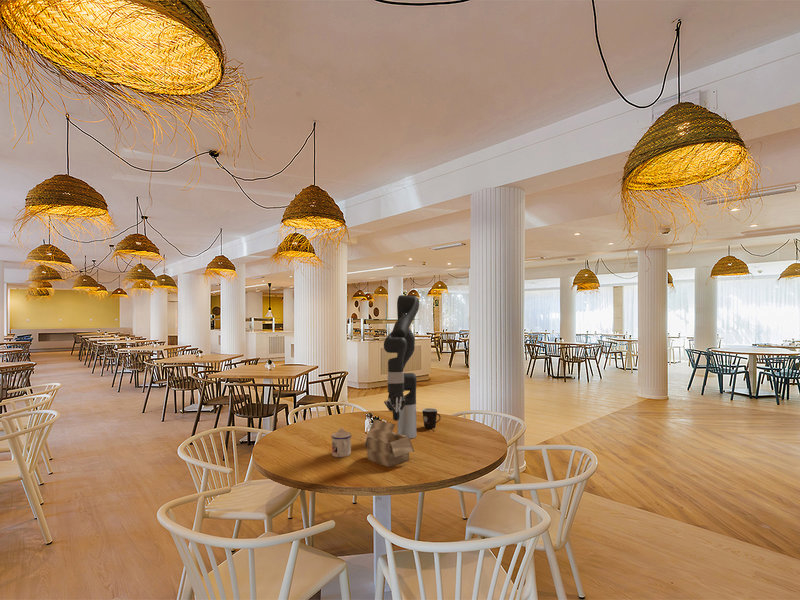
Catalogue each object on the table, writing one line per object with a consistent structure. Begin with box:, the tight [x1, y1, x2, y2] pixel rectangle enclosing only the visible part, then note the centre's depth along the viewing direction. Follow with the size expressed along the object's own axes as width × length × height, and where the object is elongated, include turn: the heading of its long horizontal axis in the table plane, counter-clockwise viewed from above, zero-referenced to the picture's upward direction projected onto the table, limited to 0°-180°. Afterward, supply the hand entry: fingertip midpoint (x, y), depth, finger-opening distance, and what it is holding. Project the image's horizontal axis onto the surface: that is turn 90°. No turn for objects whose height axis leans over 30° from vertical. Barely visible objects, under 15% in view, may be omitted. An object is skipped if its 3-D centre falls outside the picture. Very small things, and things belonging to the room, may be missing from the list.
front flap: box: [366, 419, 396, 443], centre depth 182 cm, size 13×1×8 cm
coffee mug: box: [421, 407, 441, 430], centre depth 238 cm, size 12×9×10 cm
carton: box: [363, 431, 415, 468], centre depth 186 cm, size 20×16×10 cm
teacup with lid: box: [331, 428, 352, 458], centre depth 192 cm, size 12×9×12 cm
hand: (396, 420), depth 188 cm, fingers closed
